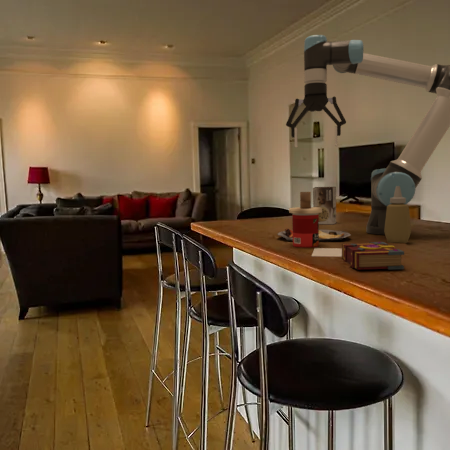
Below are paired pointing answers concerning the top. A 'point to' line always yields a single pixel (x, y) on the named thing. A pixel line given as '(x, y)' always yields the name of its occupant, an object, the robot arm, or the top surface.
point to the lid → (305, 205)
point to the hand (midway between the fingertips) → (315, 146)
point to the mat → (327, 252)
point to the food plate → (323, 235)
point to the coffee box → (325, 204)
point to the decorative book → (372, 256)
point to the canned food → (305, 230)
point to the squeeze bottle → (397, 219)
